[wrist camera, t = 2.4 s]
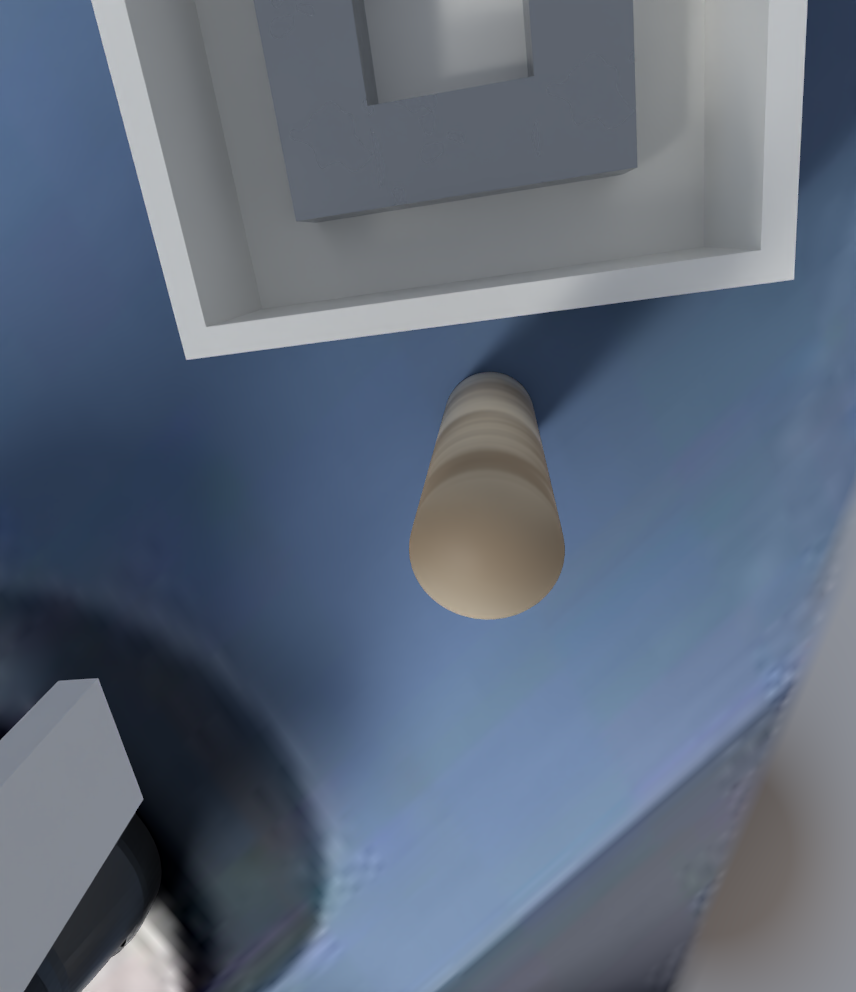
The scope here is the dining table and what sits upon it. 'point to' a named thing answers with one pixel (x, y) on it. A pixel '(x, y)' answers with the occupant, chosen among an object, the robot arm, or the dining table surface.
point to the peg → (487, 505)
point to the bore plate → (447, 111)
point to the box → (464, 223)
